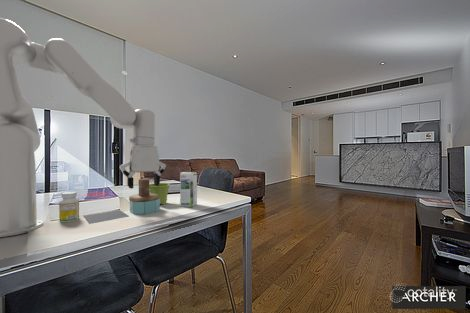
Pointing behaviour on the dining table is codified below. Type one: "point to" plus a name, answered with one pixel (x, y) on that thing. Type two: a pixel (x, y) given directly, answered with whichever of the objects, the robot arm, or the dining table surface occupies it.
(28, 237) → the dining table surface
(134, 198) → the lid
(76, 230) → the dining table surface
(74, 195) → the supplement bottle
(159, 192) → the plant pot
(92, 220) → the mat
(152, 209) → the bowl
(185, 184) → the syrup box
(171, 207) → the dining table surface
